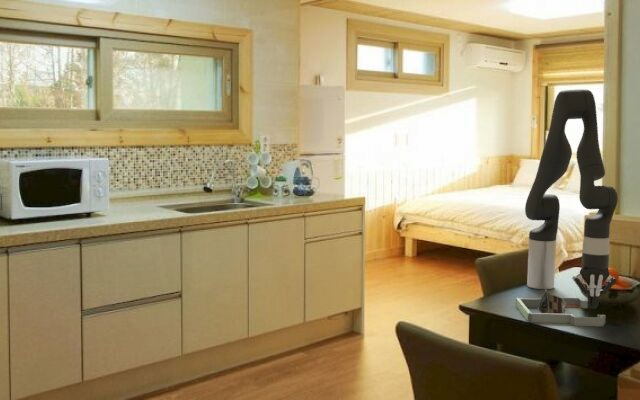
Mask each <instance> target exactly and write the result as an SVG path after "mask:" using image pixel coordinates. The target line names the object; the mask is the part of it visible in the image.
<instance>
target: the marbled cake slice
mask: <svg viewBox="0 0 640 400" xmlns="http://www.w3.org/2000/svg"><path fill="white" fill-rule="evenodd" d="M539 299H540V302H539V304H538V307H536V308H537V311H538V313H555V314H566V312H567V309H566V307H565V305H566V302H565V301H564V299H563V298H560V296H556V295H553V294H550V293H549V292H548V289H544V292H543V293H542V295H541V297H540V298H539Z"/></svg>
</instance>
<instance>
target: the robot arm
mask: <svg viewBox="0 0 640 400" xmlns="http://www.w3.org/2000/svg"><path fill="white" fill-rule="evenodd" d="M595 99H596V98H595V96H594V94H593V92H592V91H591V90H590V89H584V88H583V89H581V88H579V89H577V88H576V89H564V90H560V91H559V92H558V93H557V95H556V97H555V100H554V104H553V108H552V115H551V119H550V125H549V130H548V133H547V138H546V141H545V144H544V147H543V150H542V153H541V155H540V160H539V163H538V168H537V172H536V174H535V178H534V181H533V183H532V185H531V188H530V191H529V194H528V196H527V197H526V202H525V208H524V210H525V211H524V214H525V216H526V218H527V219H529V220H531V221H544V223H542V224H541V225H540V226H538V227H536V228H532V229H531V230H530V231H529V234H528V235H529V236H528V256H527V277H526V278H527V279H526V280H527V282H526V285H527V287H528V288H531V289H537V290H545V289H547V290H552V289H554V288H555V278H556V277H555V276H556V275H555V274H556V272H555V271H556V256H557V255H556V253H557V252H556V251H557V235H558V231H559V230H558V229H559V219H560V199H559V198H558V195H556V194H553V193H552V194H549V193H548V194H546V192H547V191H548V190H549V189H550V188H551V187H552V186H553V185H554V184H555V183H556V182H558V181H559V180H560V179H561V178H562V177H563V176H564V175H565V174H566V172H567V171H568V169H569V165H570V161H571V159H572V156H573V150H572V146H571V144H570V142H569V139H568V138H567V134H566V124H567V123H568V121H569V120H578V119H579V120H581V121H582V123H583V132H582V136H581V138H580V141H579V144H578V147H577V149H576V161H577V166H578V171H579V175H580V177H579V178H580V179H579V180H580V181H579V182H580V183H579V185H580V186H579V202H580V204H581V205H582V207H583V208H585V209H587V210H598V211H597V212H596V214H595V215H591V216H589V217H587V218H585V221H584V233H583V234H584V235H583V240H582V256H581V268H580V270H579V274H578V273H577V275H576V276H575V275H573V276H572V278H571V279H572V280H573V281H574V283H575V284H576V286H577V287H578V289H580V291H581V292H582V293H583V294H584V295H587V301H588V305H587V306H589V308H591V309H597V307H599V305H600V304H599V303H600V302H599V301H600V296H602V295H606V294H607V293H608V291H610V290H611V288H612V287H613V286H614V285H615V284H616V282H617V278H615V277H614V276H612V275H611V273H610V271H609V264H610V263H609V262H610V261H609V260H610V251H611V248H610V244H611V243H610V230H611V229H610V228H611V227H610V226H611V222H612V219H613V216H614V213H615V211H616V207H617V205H618V199H619V198H618V192H617V191H616V189H615V188H614V187H613V186H612V185H595V181H599V180H601V179H603V178H604V176H605V174H606V170H605V167H604V161H603V158H602V154H601V149H600V143H599V142H600V141H599V132H598V131H599V130H598V116H597V103H596V101H595ZM583 280H584V282H585V283H586V287H587V288H586V287H585V285H584V284H583V283H582V282H583ZM604 282H605V283H604Z"/></svg>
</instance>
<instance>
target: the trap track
mask: <svg viewBox="0 0 640 400" xmlns="http://www.w3.org/2000/svg"><path fill="white" fill-rule="evenodd" d="M559 297H560V296H559ZM560 298H563V299H564V301H565V302H566V305H565V308H580V309H588V306H589V305H588V299H583V297H581V298H580V297H564V296H563V297H560ZM540 299H541V298H531V297H529V298H528V297H526V298H525V297H524V298H523V297H522V298H521V297H516V298H515V307H516V308H517V310H518V311H519V312H520V314H521V315H522V316H523V317H524V319H526V321H527V323H549V324H550V323H551V324H552V323H554V324H555V323H556V324H570V325H571V326H578V327H604V326H605V324H606V314H597V316H596V317H595V316H575V314H574V313H565V314H555V313H540V312H531V310H529V309H528V307H529V308H537V307H538V304H539V302H540Z"/></svg>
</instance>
